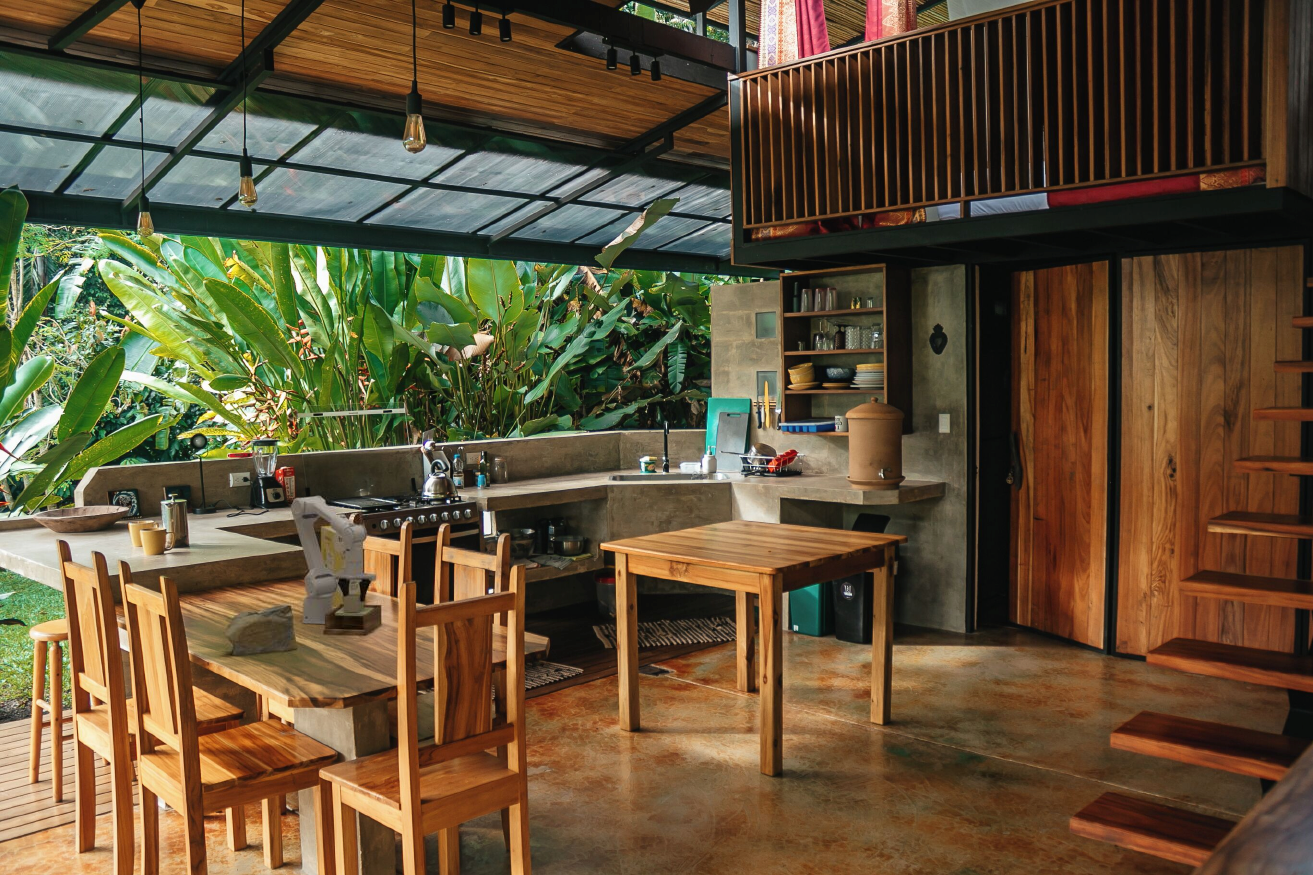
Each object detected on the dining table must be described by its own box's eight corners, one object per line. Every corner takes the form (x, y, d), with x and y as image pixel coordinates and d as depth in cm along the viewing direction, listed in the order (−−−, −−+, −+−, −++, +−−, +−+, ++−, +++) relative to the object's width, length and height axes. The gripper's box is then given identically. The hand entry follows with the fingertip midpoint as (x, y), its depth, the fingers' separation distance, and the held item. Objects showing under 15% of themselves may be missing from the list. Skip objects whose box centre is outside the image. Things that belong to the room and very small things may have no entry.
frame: (323, 634, 321) (323, 613, 320) (340, 623, 335) (340, 603, 335) (365, 635, 320) (365, 614, 319) (381, 624, 334) (381, 604, 334)
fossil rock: (232, 669, 293) (220, 621, 292) (232, 662, 302) (220, 616, 301) (301, 648, 301) (290, 602, 300) (299, 643, 310) (288, 598, 309)
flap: (335, 615, 326) (334, 612, 326) (343, 609, 333) (343, 606, 333) (366, 616, 325) (366, 613, 325) (374, 610, 332) (374, 607, 332)
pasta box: (363, 604, 366) (362, 530, 364) (335, 607, 360) (334, 532, 358) (348, 595, 381) (348, 524, 379) (321, 598, 375) (320, 526, 373)
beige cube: (343, 611, 325) (343, 597, 325) (349, 608, 330) (349, 594, 330) (358, 612, 325) (358, 597, 325) (363, 609, 330) (363, 594, 330)
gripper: (328, 562, 324) (328, 603, 325) (370, 564, 323) (371, 604, 324) (337, 559, 331) (337, 598, 332) (378, 560, 330) (378, 599, 331)
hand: (354, 601), depth 328 cm, fingers closed on beige cube, 5 cm apart
